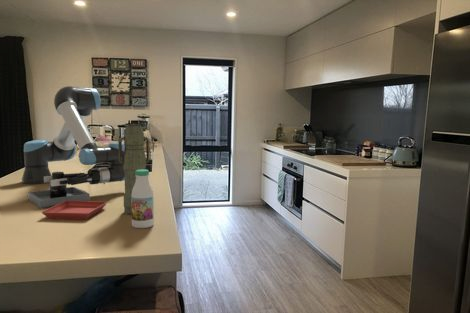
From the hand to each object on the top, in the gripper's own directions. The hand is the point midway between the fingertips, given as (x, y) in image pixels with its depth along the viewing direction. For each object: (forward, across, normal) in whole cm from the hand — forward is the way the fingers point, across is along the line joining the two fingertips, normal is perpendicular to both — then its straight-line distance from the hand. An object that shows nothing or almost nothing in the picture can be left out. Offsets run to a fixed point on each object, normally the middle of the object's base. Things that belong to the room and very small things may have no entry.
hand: (47, 181), depth 156 cm
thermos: (-22, -38, -10) cm, 45 cm away
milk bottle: (-16, -56, -10) cm, 59 cm away
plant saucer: (-3, -26, -10) cm, 28 cm away
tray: (-4, 0, -9) cm, 10 cm away
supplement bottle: (-4, 0, -9) cm, 10 cm away
